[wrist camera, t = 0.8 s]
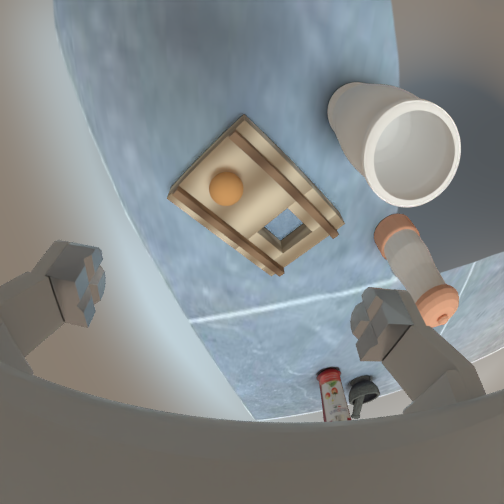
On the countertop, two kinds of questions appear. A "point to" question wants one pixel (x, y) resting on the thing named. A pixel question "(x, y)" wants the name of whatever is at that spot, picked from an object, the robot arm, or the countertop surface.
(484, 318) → the countertop surface
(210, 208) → the lane board
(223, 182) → the ball
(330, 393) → the liquor
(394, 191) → the jar
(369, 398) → the mortar and pestle
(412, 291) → the pepper shaker
